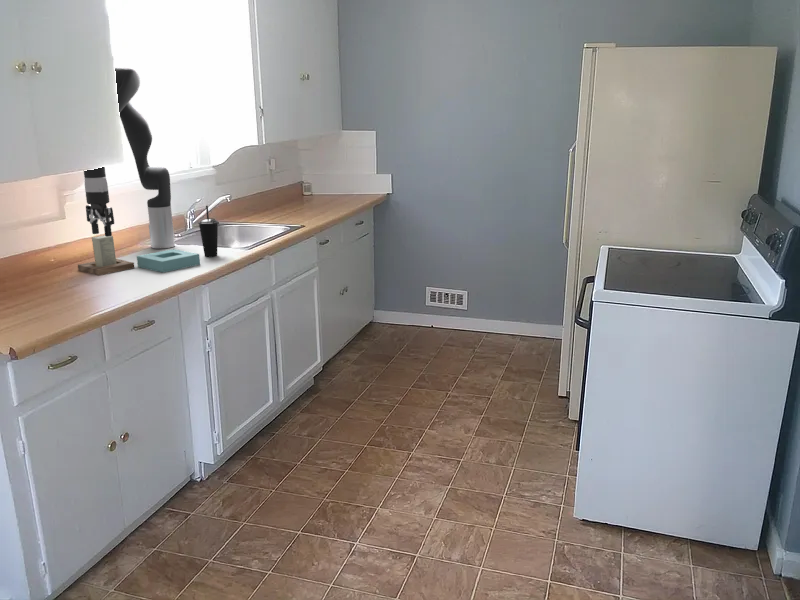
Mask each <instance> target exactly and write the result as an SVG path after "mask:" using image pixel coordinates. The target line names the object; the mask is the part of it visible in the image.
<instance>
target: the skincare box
mask: <svg viewBox="0 0 800 600" xmlns="http://www.w3.org/2000/svg"><path fill="white" fill-rule="evenodd" d="M114 240H115V239H114V235H112V236H108V237H107V236H105V234H104V235H100V236H93V237H92V236H91V243H92V249H93V255H94V262H95V265H96V266H97V267H103V266H108V265H113V264H117V263H116V259H117V256H116V248H115V242H114Z"/></svg>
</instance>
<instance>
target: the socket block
mask: <svg viewBox="0 0 800 600" xmlns="http://www.w3.org/2000/svg"><path fill="white" fill-rule="evenodd" d="M200 261H201V259H200V253H196V252H192V251H184V250H180V249H175V248H173V249H172V248H170V249H167V250H161V251H157V252H152V253H146V254H140V255H136V262H137V267H138V268H142V269H147V270H151V271H154V272H160V273H166V272H172V271H176V270H181V269H185V268H190V267H195V266H198V265H201V262H200Z"/></svg>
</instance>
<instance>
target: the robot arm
mask: <svg viewBox="0 0 800 600" xmlns="http://www.w3.org/2000/svg"><path fill="white" fill-rule="evenodd" d="M114 68H115V71H116V83H117V94H118V103H119V112H120V116H119V117H120V118H119V119H120V121H121V124H122V126H123V129H124V133H125V135H126V139H127V141H128V144H129V146H130V149H131V152H132V156H133V158H134V160H135V161H134V162H135V165H136V169H137V173H138V178H139V180H140V183H141V186H142V188H143V189H145V190H147V191H158V192H157V193H158V194H157V195H156V196H154V197H151V198H149V199H147V202H146V205H147V212H148V213H147V214H148V221H149V224H148V230H149V231H148V232H149V239H150V247H151V248H152V249H159V250H160V249H172V248H174V247H175V243H176V242H175V235H174V232H175V231H174V223H173V213H172V205H171V200H172V194H171V193H172V192H171V191H172V190H171V176H170V172H169V170H168V169H167V168H166V167H162V166H161V167H160V166H157V167H153V166H152V167H151V166H150V165H149V162H148V154H149V152H150V148H151V145H152V142H153V135H152V132H151V129H150V126H149V123H148V121H147V119H146V118H145V117H144V116H143V114H142V113H141V112H140V111H139V110H137V108H136V107H135V106H133V104H132V103H131V100H132V99H133V98H134V96H135V95H136V94H137V93H138V91H139V88H140V86H141V80H140V79H141V78H140V76H139V73H138V72H137V70H135V69H133V68H126V67H119V68H118V67H114ZM106 175H107V174H106V168H105V167H102V168H98V169H94V170H87V171H84V170H83V177H84V192H85V198H86V199H85V200H86V204H87V205H85V211H86V213H85V214H86V221H87V222H89V224H91V232H92V235H98V234H100V230H99V221H100V222H101V223H102V224H103V226H104V227H103V230H104V235H105V236H107V237H108V236H113V233H112V225H115V216H114V210H113V207H108V206H107V205H108V204H109V203H110V196H109V195H110V193H109V186H108V181H107V176H106Z"/></svg>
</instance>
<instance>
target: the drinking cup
mask: <svg viewBox="0 0 800 600" xmlns="http://www.w3.org/2000/svg"><path fill="white" fill-rule="evenodd" d="M205 210H206V218H204V219H201V220H200V221H198V222H197V224H198V226H199V232H200V236H201V243H202V248H203V254H204V257H205V258H215V257H218V239H219V237H218V235H219V234H218V232H219V231H218V230H219V229H218V228H219V227H218V225H219V221H218V220H215V218H214V219H213V218H210V214H209V205H205Z"/></svg>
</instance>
